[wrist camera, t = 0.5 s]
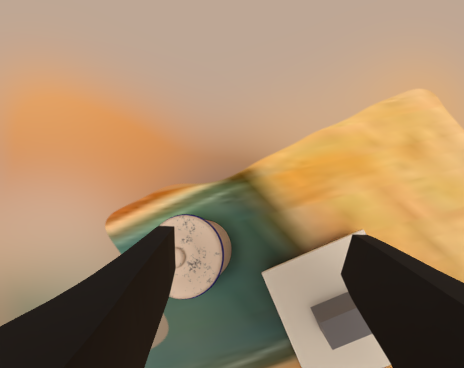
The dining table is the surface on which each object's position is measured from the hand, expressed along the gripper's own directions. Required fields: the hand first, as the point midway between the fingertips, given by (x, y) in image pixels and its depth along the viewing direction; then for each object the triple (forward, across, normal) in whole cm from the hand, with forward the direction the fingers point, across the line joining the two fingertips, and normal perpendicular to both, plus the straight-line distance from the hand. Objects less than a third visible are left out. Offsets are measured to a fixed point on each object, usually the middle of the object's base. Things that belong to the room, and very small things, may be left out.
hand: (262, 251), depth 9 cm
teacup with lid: (+20, +5, +16) cm, 26 cm away
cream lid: (+11, -12, +16) cm, 23 cm away
